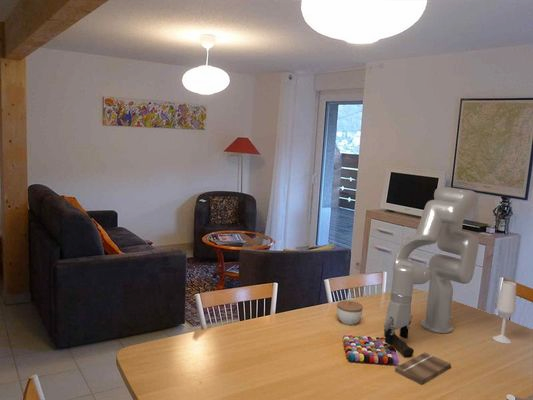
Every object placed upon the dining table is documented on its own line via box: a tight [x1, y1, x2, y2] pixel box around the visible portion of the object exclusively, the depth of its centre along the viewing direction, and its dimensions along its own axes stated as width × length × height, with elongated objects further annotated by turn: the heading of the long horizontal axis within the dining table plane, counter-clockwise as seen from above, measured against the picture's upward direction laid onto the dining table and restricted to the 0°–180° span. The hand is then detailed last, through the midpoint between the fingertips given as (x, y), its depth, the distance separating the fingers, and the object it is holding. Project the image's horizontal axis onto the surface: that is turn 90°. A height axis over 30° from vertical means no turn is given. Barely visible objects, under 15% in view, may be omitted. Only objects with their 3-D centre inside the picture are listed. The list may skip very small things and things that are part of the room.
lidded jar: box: [336, 300, 364, 326], centre depth 194 cm, size 11×11×9 cm
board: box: [394, 352, 452, 385], centre depth 157 cm, size 19×10×2 cm, turn 131°
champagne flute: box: [492, 280, 517, 344], centre depth 184 cm, size 7×7×24 cm
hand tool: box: [383, 328, 414, 359], centre depth 174 cm, size 19×4×5 cm, turn 10°
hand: (396, 340), depth 174 cm, fingers open, 9 cm apart
